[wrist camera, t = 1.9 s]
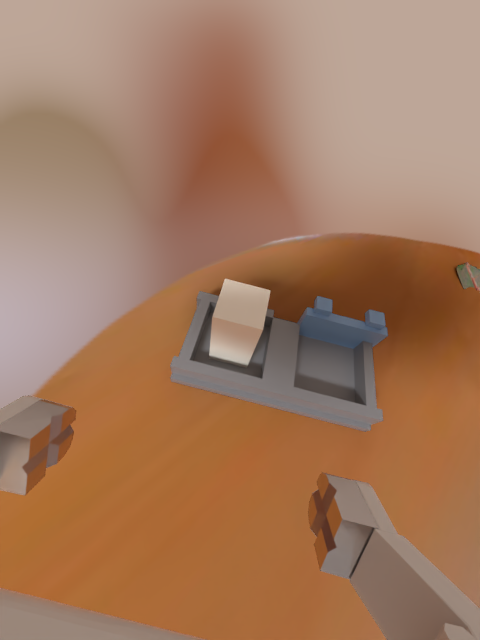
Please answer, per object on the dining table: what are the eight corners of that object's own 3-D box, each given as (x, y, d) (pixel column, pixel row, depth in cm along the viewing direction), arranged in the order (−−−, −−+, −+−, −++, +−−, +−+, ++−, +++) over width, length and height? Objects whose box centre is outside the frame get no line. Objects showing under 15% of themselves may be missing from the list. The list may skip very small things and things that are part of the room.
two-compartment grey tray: (360, 340, 31) (390, 314, 26) (365, 431, 25) (404, 420, 21) (202, 299, 31) (202, 266, 26) (171, 381, 25) (164, 358, 21)
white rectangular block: (253, 334, 28) (270, 290, 22) (246, 367, 26) (263, 329, 20) (218, 325, 28) (225, 278, 22) (209, 358, 26) (212, 316, 19)
